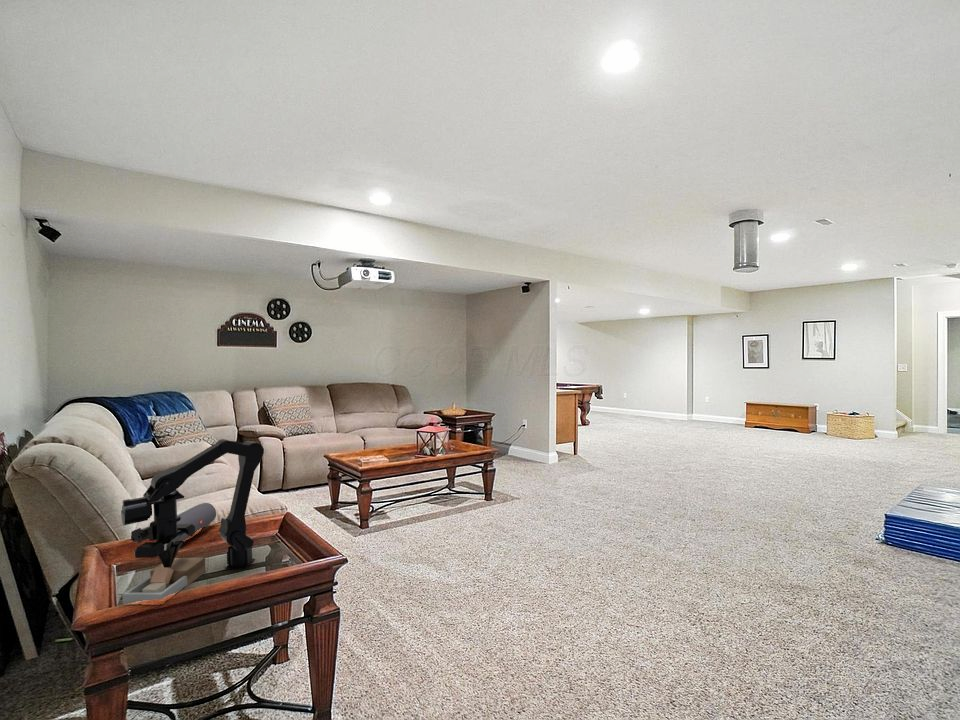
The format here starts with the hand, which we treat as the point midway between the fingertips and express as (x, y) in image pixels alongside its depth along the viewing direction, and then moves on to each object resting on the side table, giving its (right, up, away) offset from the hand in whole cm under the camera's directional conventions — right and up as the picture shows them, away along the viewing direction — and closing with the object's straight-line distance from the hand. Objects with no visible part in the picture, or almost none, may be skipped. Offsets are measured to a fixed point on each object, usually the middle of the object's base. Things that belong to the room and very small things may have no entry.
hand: (167, 568), depth 146 cm
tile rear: (0, -2, -1) cm, 2 cm away
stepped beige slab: (0, -5, +5) cm, 7 cm away
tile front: (0, -2, -6) cm, 6 cm away
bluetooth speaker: (-16, -5, +39) cm, 43 cm away
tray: (0, -5, -5) cm, 7 cm away
